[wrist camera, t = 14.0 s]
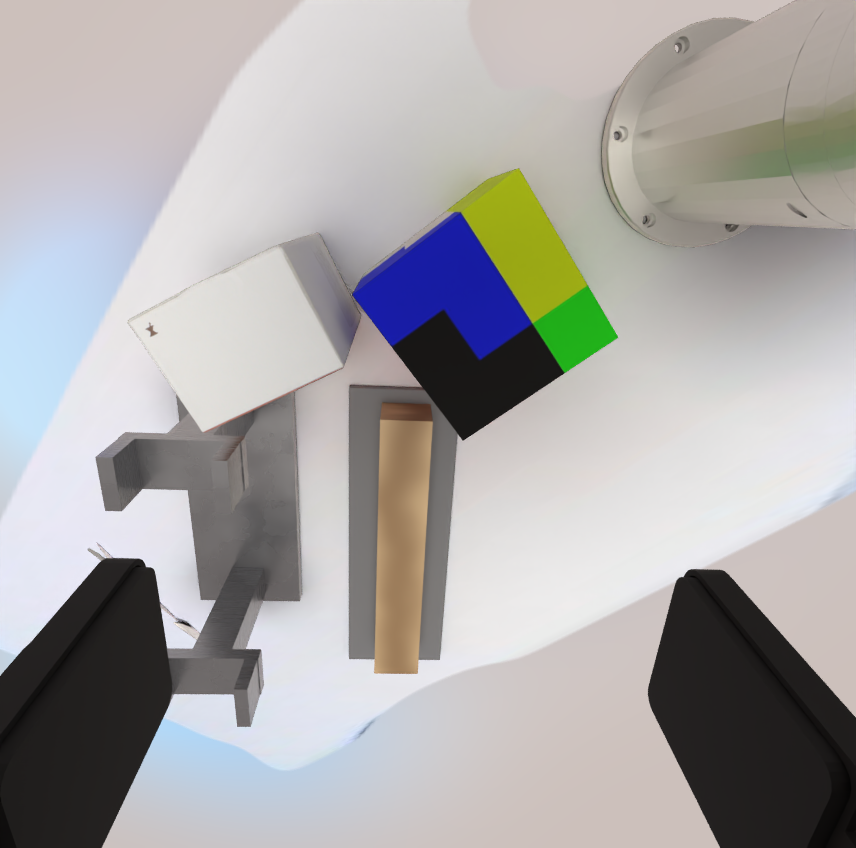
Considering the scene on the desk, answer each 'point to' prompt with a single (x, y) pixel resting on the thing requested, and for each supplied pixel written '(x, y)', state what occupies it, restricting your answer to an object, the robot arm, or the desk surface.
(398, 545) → the rail
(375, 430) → the mat
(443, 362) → the puzzle toy
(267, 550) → the rack
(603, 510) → the desk surface
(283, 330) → the small box
